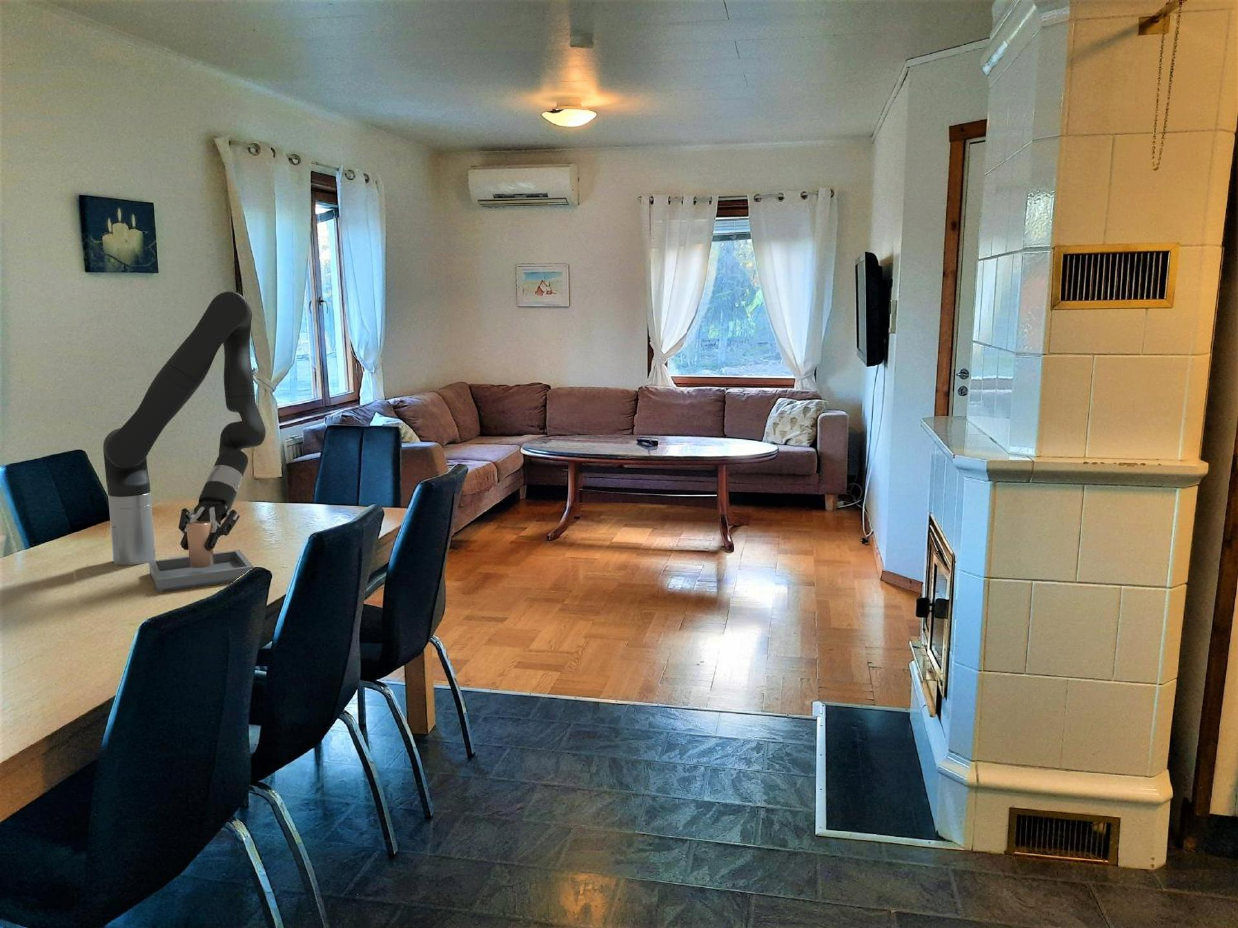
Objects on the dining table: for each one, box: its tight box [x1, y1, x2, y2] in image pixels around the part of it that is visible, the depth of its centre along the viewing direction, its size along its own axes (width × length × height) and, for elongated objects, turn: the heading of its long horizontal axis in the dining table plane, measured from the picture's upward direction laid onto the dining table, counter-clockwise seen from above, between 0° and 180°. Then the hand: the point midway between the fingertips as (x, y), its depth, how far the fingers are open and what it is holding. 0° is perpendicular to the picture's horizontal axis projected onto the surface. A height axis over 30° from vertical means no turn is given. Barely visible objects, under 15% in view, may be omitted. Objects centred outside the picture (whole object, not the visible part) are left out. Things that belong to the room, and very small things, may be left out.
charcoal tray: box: [148, 549, 255, 594], centre depth 206 cm, size 20×18×3 cm
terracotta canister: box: [186, 521, 214, 568], centre depth 205 cm, size 5×5×10 cm
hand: (196, 548), depth 203 cm, fingers closed on terracotta canister, 5 cm apart
